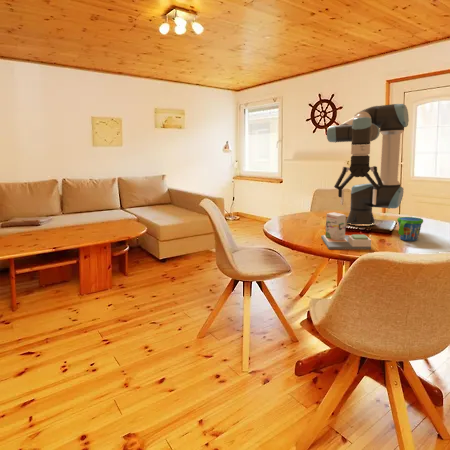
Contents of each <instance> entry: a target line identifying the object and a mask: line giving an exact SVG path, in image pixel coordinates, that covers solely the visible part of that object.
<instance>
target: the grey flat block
mask: <svg viewBox="0 0 450 450" xmlns="http://www.w3.org/2000/svg"><path fill="white" fill-rule="evenodd" d="M352 235H353V234H351V235H350V234H349V235H346V234H345V239H343V240H334V239H331V238H328V237H326V234H323V235H320V236H321V240H322V242H323V243H324V244H325V246H326V248H327V249H328V250H372V239H371V238H369V237H368V239H353V238H352Z"/></svg>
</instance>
